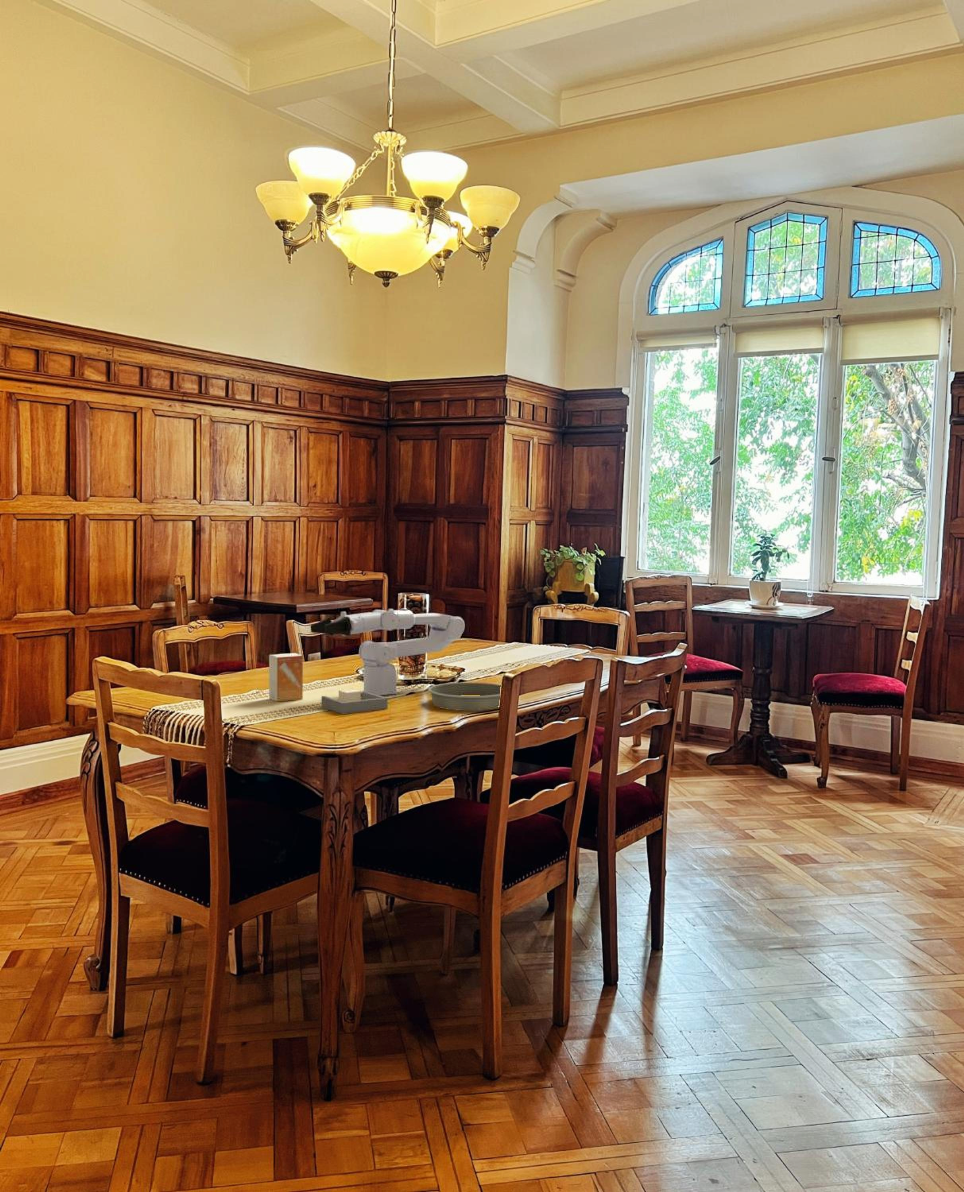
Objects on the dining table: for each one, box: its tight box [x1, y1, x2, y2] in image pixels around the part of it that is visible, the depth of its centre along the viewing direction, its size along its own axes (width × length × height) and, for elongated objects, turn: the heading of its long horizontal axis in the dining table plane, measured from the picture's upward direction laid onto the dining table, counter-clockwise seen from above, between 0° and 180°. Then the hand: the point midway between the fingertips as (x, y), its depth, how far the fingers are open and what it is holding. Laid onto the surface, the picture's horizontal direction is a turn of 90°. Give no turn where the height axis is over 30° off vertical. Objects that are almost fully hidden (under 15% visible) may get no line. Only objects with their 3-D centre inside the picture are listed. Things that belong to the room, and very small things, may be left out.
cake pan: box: [427, 681, 502, 711], centre depth 290 cm, size 25×25×4 cm
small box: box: [268, 652, 304, 703], centre depth 294 cm, size 8×6×13 cm
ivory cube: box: [338, 688, 362, 702], centre depth 284 cm, size 4×4×4 cm
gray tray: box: [321, 692, 389, 715], centre depth 281 cm, size 14×12×3 cm
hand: (318, 628), depth 289 cm, fingers open, 7 cm apart
